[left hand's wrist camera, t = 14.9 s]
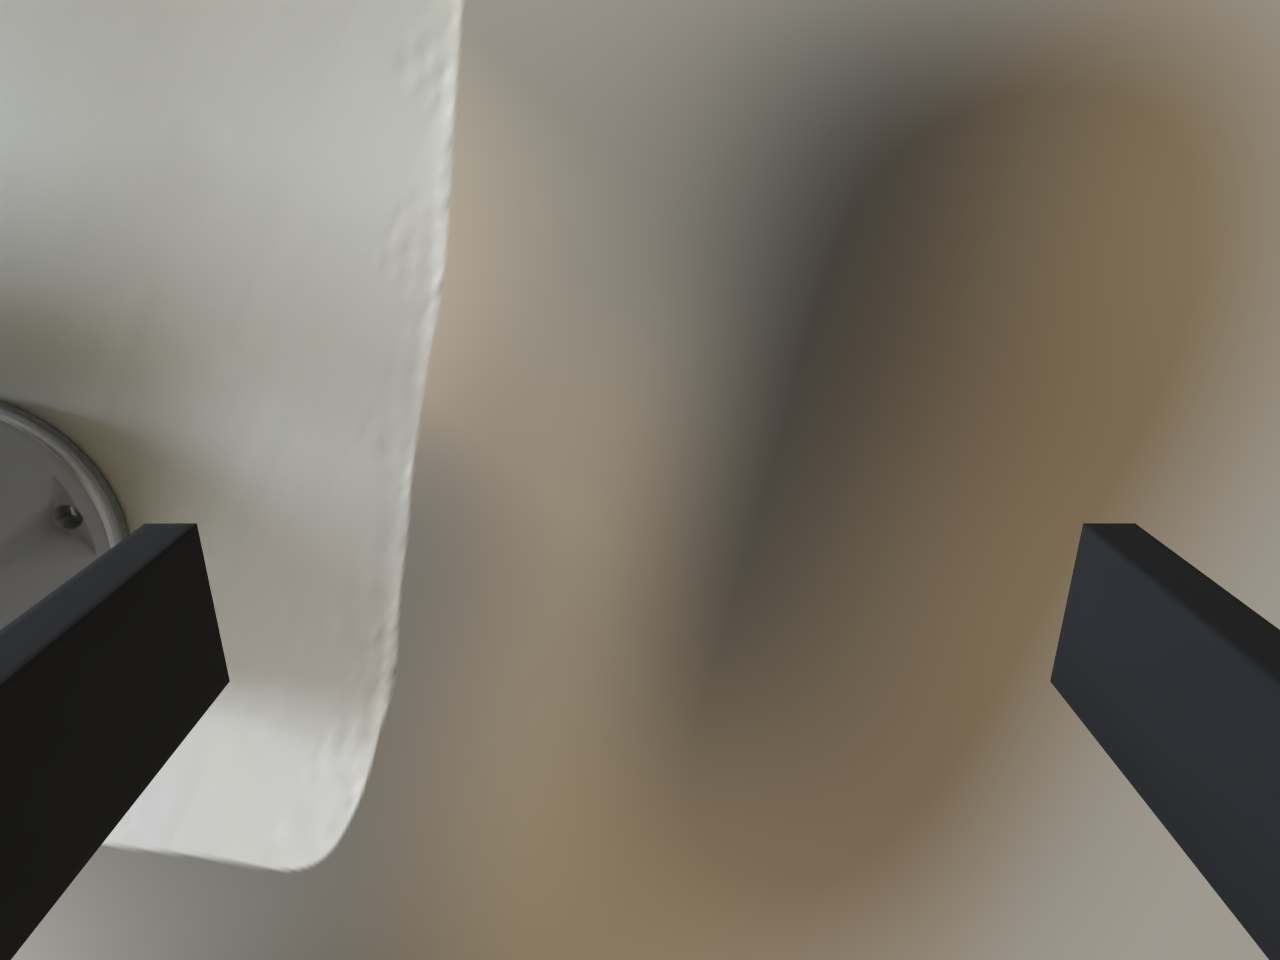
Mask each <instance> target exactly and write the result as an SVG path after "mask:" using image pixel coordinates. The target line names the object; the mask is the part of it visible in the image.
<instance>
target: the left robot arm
mask: <svg viewBox="0 0 1280 960" xmlns="http://www.w3.org/2000/svg"><path fill="white" fill-rule="evenodd" d="M228 683H229V676H228V671H227V666H226V661H225V657H224V652H223V647H222V642H221V638H220V633H219V628H218V623H217V618H216V614H215V609H214V604H213V599H212V595H211V590H210V585H209V580H208V575H207V571H206V566H205V561H204V556H203V551H202V547H201V542H200V537H199V532H198V528H197V524H144V525H142V526H141V527H140V528H138V529H137V530H136V531H134V532H133V533H131V534H130V535H129V536H128V533H127V528H126V524H125V520H124V517H123V515H122V512H121V509H120V506H119V504H118V502H117V500H116V498H115V496H114V494H113V492H112V490H111V489H110V487H109V485H108V483H107V482H106V480H105V479H104V478H103V476H102V475H101V473H100V472H99V470H98V469H97V468H96V467H95V466H94V464H93V463H92V462H91V461H90V460H89V459H88V458H87V456H86V455H85V454H84V453H83V452H82V451H81V450H80V449H79V448H78V447H77V446H75V445H74V444H73V443H72V442H71V441H70V440H69V439H67V438H66V437H65V436H64V435H62V434H61V433H60V432H58V431H57V430H56V429H54V428H53V427H51V426H50V425H48V424H46V423H45V422H43V421H42V420H40V419H38V418H36V417H35V416H33V415H31V414H29V413H27V412H25V411H23V410H20V409H18V408H16V407H14V406H11V405H8V404H5V403H3V402H0V960H11V959H12V957H13V956H14V955H15V954H16V952H17V951H18V950H19V948H20V947H21V946H22V945H23V943H24V942H25V941H26V940H27V938H28V937H29V936H30V934H31V933H32V932H33V931H34V929H35V928H36V927H37V926H38V924H39V923H40V922H41V920H42V919H43V918H44V917H45V915H46V914H47V913H48V912H49V910H50V909H51V908H52V907H53V905H54V904H55V903H56V901H57V900H58V899H59V898H60V896H61V895H62V894H63V893H64V891H65V890H66V889H67V887H68V886H69V885H70V884H71V882H72V881H73V880H74V879H75V877H76V876H77V875H78V873H79V872H80V871H81V870H82V868H83V867H84V866H85V865H86V863H87V862H88V861H89V859H90V858H91V857H92V856H93V854H94V853H95V852H96V851H97V849H98V848H99V847H100V845H101V844H102V843H103V842H104V840H105V839H106V838H107V837H108V835H109V834H110V833H111V831H112V830H113V829H114V828H115V826H116V825H117V824H118V823H119V821H120V820H121V819H122V818H123V816H124V815H125V814H126V812H127V811H128V810H129V809H130V807H131V806H132V805H133V804H134V802H135V801H136V800H137V798H138V797H139V796H140V795H141V793H142V792H143V791H144V790H145V788H146V787H147V786H148V784H149V783H150V782H151V781H152V779H153V778H154V777H155V776H156V774H157V773H158V772H159V770H160V769H161V768H162V767H163V765H164V764H165V763H166V762H167V760H168V759H169V758H170V756H171V755H172V754H173V753H174V751H175V750H176V749H177V748H178V746H179V745H180V744H181V742H182V741H183V740H184V739H185V737H186V736H187V735H188V734H189V732H190V731H191V730H192V728H193V727H194V726H195V725H196V723H197V722H198V721H199V720H200V718H201V717H202V716H203V714H204V713H205V712H206V711H207V709H208V708H209V707H210V706H211V704H212V703H213V702H214V700H215V699H216V698H217V697H218V695H219V694H220V693H221V692H222V690H223V689H224V688H225V686H226V685H227V684H228ZM1051 683H1052V684H1053V685H1054V686H1055V688H1056V689H1057V690H1058V691H1059V693H1060V694H1061V695H1062V697H1063V698H1064V699H1065V700H1066V702H1067V703H1068V704H1069V706H1070V707H1071V708H1072V709H1073V711H1074V712H1075V713H1076V714H1077V716H1078V717H1079V718H1080V719H1081V721H1082V722H1083V723H1084V725H1085V726H1086V727H1087V728H1088V730H1089V731H1090V732H1091V734H1092V735H1093V736H1094V737H1095V739H1096V740H1097V741H1098V742H1099V744H1100V745H1101V746H1102V747H1103V749H1104V750H1105V751H1106V753H1107V754H1108V755H1109V756H1110V758H1111V759H1112V760H1113V762H1114V763H1115V764H1116V765H1117V767H1118V768H1119V769H1120V770H1121V772H1122V773H1123V774H1124V776H1125V777H1126V778H1127V779H1128V781H1129V782H1130V783H1131V784H1132V786H1133V787H1134V788H1135V790H1136V791H1137V792H1138V793H1139V795H1140V796H1141V797H1142V798H1143V800H1144V801H1145V802H1146V803H1147V805H1148V806H1149V807H1150V809H1151V810H1152V811H1153V812H1154V814H1155V815H1156V816H1157V818H1158V819H1159V820H1160V821H1161V822H1162V824H1163V825H1164V826H1165V828H1166V829H1167V830H1168V831H1169V833H1170V834H1171V835H1172V837H1173V838H1174V839H1175V840H1176V842H1177V843H1178V844H1179V845H1180V847H1181V848H1182V849H1183V851H1184V852H1185V853H1186V854H1187V856H1188V857H1189V858H1190V859H1191V861H1192V862H1193V863H1194V865H1195V866H1196V867H1197V868H1198V870H1199V871H1200V872H1201V873H1202V875H1203V876H1204V877H1205V879H1206V880H1207V881H1208V882H1209V884H1210V885H1211V886H1212V887H1213V889H1214V890H1215V891H1216V892H1217V894H1218V895H1219V896H1220V898H1221V899H1222V900H1223V901H1224V903H1225V904H1226V905H1227V907H1228V908H1229V909H1230V910H1231V912H1232V913H1233V914H1234V915H1235V917H1236V918H1237V919H1238V921H1239V922H1240V923H1241V924H1242V926H1243V927H1244V928H1245V929H1246V931H1247V932H1248V933H1249V935H1250V936H1251V937H1252V938H1253V940H1254V941H1255V942H1256V943H1257V945H1258V946H1259V947H1260V949H1261V950H1262V951H1263V952H1264V954H1265V955H1266V956H1267V957H1268V959H1269V960H1280V630H1279V629H1278V628H1276V627H1275V626H1274V625H1272V624H1271V623H1269V622H1268V621H1267V620H1265V619H1264V618H1263V617H1261V616H1260V615H1259V614H1257V613H1256V612H1254V611H1253V610H1252V609H1250V608H1249V607H1248V606H1246V605H1245V604H1244V603H1242V602H1241V601H1240V600H1238V599H1237V598H1236V597H1234V596H1233V595H1231V594H1230V593H1229V592H1227V591H1226V590H1225V589H1223V588H1222V587H1221V586H1219V585H1218V584H1216V583H1215V582H1214V581H1212V580H1211V579H1210V578H1208V577H1207V576H1206V575H1204V574H1203V573H1202V572H1200V571H1199V570H1197V569H1196V568H1195V567H1193V566H1192V565H1191V564H1189V563H1188V562H1187V561H1185V560H1184V559H1183V558H1181V557H1180V556H1178V555H1177V554H1176V553H1174V552H1173V551H1172V550H1170V549H1169V548H1168V547H1166V546H1165V545H1164V544H1162V543H1161V542H1159V541H1158V540H1157V539H1155V538H1154V537H1153V536H1151V535H1150V534H1149V533H1147V532H1146V531H1144V530H1143V529H1142V528H1140V527H1139V526H1138V525H1136V524H1083V528H1082V533H1081V537H1080V542H1079V547H1078V552H1077V556H1076V561H1075V566H1074V571H1073V575H1072V580H1071V585H1070V590H1069V595H1068V599H1067V604H1066V609H1065V614H1064V619H1063V623H1062V628H1061V633H1060V638H1059V642H1058V647H1057V652H1056V657H1055V661H1054V666H1053V671H1052V676H1051Z"/></svg>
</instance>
